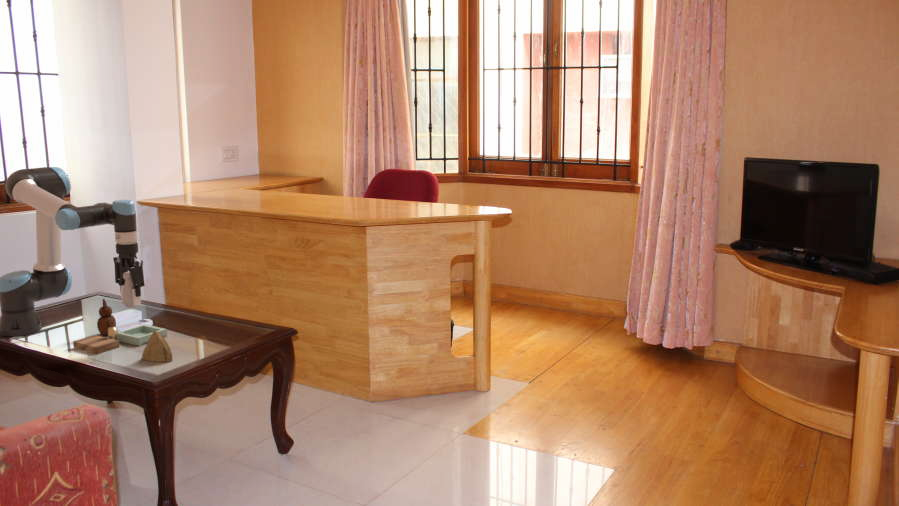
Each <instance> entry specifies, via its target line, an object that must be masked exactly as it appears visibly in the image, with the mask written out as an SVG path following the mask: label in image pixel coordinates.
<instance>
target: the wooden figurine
mask: <svg viewBox="0 0 899 506" xmlns="http://www.w3.org/2000/svg"><path fill="white" fill-rule="evenodd" d="M98 314H99V315H98V316H99V318H98V319H97V323H96V325H97V326H96V327H97V330H98V332H99V333H100V336H103V337H108V328H109V327H116V328H117V322H116V321H117V319H115V318H116V317H115V316H114V315H112V314H113V310H112V307H111V306H108V304H107V301H106V299H105V298H102V306H100V308H99V309H98Z"/></svg>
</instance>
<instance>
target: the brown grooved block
mask: <svg viewBox="0 0 899 506" xmlns="http://www.w3.org/2000/svg"><path fill="white" fill-rule="evenodd" d="M72 342H73V349H76V350H79V351H80V350H81V351H85V352H88V353H90V354H91V353H92V354H96V355H100V354H101V355H102V354H103V353H106V352H110V351H112V350H115V349H119V348H120V341H118V340H114V339H110V338H108V337H106V336H102V335H96V334H93V335H89V336H86V337H84V338H80V339H77V340H74V341H72Z"/></svg>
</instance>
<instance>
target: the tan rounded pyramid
mask: <svg viewBox="0 0 899 506" xmlns="http://www.w3.org/2000/svg"><path fill="white" fill-rule="evenodd" d="M140 359H141V361H143V360H144V361H146V362H159V363H160V362H164V363H165V362H166V363H168V362H171V361H173V352H172V351H171V348H170V345H169V344H168V342H167V340H166V339H165V337H164V338H163V336H162V335H161V333H159V332H156V331H154V332H153V334H152V335H151V337H150V339H149V341H148V343H147V344H145V347H144V349H143V352H142V355H141V358H140Z"/></svg>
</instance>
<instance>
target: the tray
mask: <svg viewBox="0 0 899 506" xmlns="http://www.w3.org/2000/svg"><path fill="white" fill-rule="evenodd" d="M154 331H156V332H159V333H161V335H162V336H163V338H164V339H165V338H167V337H168V331H167V328H162V327H158V326H153V325H149V324H144V323H143V324H140V325H137V326H134V327H130V328H128V329H124V330H121V331H117V340H118V341H119V343H120V342H121V343H126V344H130V345H134V346H144V345H147V343H148V341H149V339H150V337H151V335H152V334H153V332H154Z"/></svg>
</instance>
